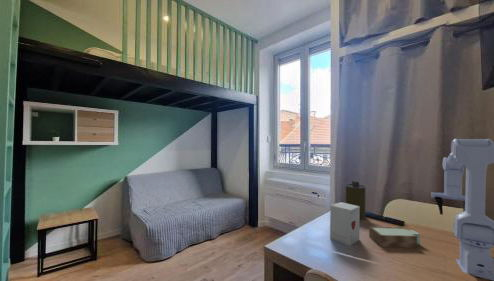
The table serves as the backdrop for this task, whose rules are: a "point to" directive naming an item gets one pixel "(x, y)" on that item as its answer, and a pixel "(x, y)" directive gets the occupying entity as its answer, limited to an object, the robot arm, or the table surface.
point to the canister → (356, 196)
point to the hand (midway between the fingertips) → (452, 215)
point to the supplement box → (344, 223)
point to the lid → (398, 232)
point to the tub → (392, 239)
